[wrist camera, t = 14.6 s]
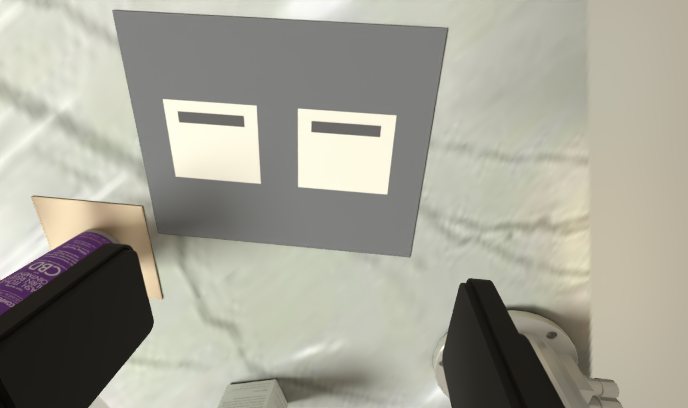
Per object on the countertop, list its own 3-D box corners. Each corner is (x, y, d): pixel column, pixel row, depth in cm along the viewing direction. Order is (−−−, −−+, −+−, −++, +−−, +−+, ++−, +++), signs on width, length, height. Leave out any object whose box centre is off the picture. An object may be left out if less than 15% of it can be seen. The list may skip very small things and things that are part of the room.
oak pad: (142, 206, 28) (141, 206, 28) (162, 298, 32) (162, 299, 32) (32, 196, 28) (31, 196, 28) (66, 288, 32) (65, 289, 32)
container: (114, 227, 29) (-121, 379, 15) (134, 271, 31) (-59, 441, 17) (68, 231, 29) (-198, 380, 16) (90, 273, 31) (-130, 440, 18)
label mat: (447, 28, 20) (447, 28, 20) (409, 256, 27) (410, 257, 27) (112, 10, 22) (111, 10, 22) (158, 232, 29) (158, 233, 29)
